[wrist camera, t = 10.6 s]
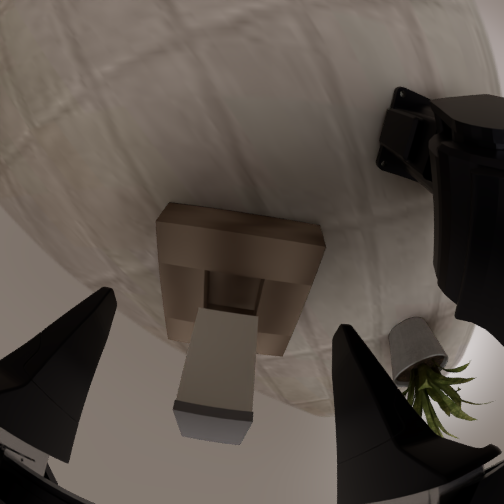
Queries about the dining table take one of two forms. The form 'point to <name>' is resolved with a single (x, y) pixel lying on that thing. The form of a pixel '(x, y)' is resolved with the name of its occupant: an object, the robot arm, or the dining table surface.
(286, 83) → the dining table surface
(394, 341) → the house plant
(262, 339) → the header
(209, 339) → the plug
